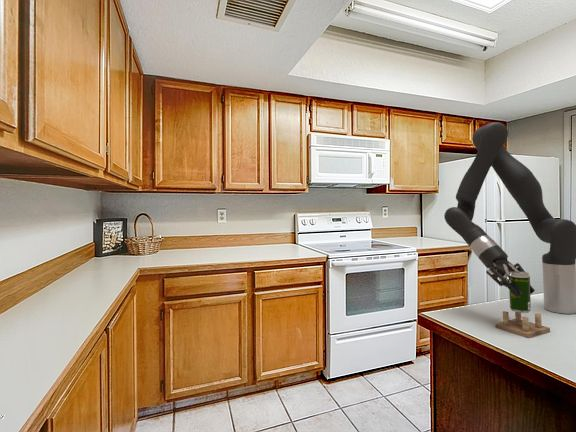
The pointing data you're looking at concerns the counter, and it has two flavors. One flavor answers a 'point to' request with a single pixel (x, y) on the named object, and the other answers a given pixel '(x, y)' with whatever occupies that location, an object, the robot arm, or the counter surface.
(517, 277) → the beer can
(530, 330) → the dowel holder
